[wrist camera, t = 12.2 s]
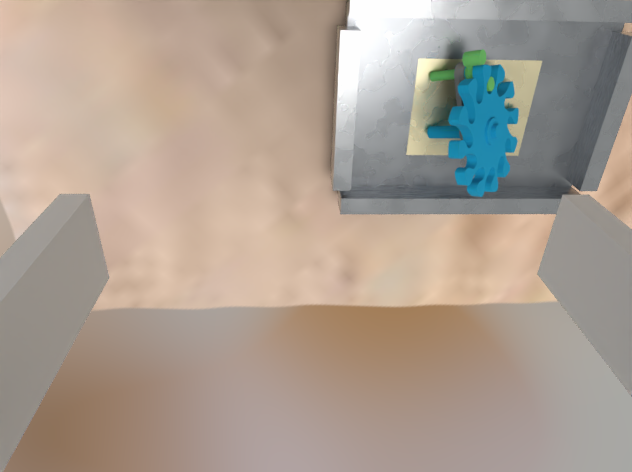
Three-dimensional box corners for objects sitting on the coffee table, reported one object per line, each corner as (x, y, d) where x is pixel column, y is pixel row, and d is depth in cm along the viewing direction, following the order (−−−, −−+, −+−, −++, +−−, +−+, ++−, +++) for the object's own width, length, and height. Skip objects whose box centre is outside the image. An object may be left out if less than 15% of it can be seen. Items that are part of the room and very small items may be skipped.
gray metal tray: (337, -10, 36) (342, -6, 33) (629, -2, 37) (664, 2, 34) (328, 194, 45) (331, 214, 41) (566, 194, 46) (588, 213, 43)
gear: (528, 172, 41) (472, 217, 35) (464, 169, 45) (404, 209, 39) (523, 35, 37) (458, 60, 31) (453, 46, 41) (384, 70, 35)
